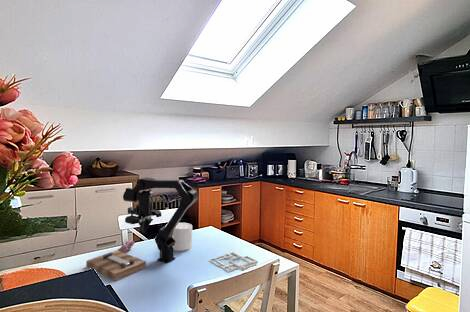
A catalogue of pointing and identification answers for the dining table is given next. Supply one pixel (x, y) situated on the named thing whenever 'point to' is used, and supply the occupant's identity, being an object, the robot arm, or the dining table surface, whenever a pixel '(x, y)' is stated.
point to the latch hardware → (121, 263)
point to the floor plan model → (229, 255)
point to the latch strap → (118, 260)
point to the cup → (182, 236)
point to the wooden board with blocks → (116, 266)
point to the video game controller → (126, 246)
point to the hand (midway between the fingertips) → (143, 233)
